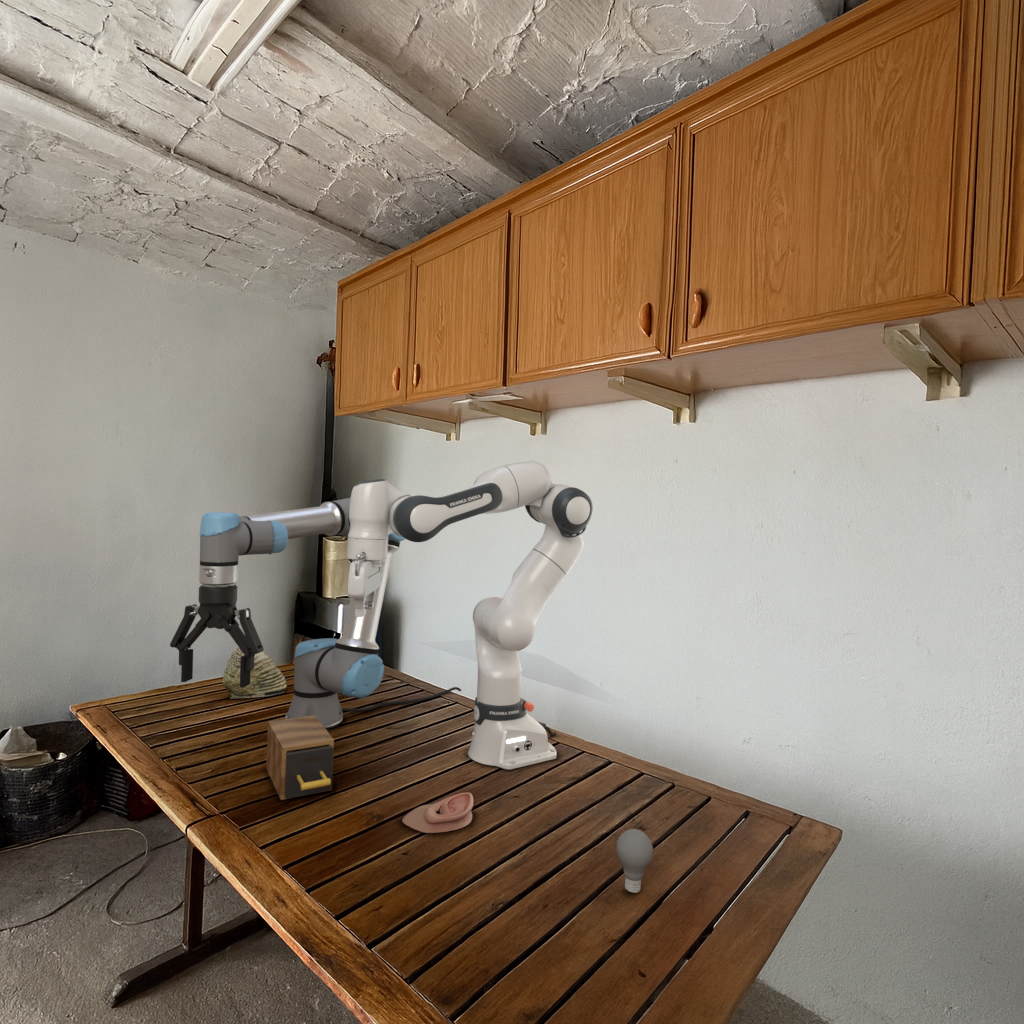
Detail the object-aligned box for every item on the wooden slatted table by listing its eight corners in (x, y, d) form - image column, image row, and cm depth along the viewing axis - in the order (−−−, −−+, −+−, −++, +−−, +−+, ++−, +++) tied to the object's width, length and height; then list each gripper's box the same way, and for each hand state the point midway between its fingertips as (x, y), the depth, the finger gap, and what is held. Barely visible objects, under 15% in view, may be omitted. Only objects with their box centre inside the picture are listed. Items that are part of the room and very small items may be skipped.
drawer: (339, 801, 130) (340, 757, 130) (291, 811, 125) (293, 765, 125) (313, 762, 148) (315, 723, 148) (271, 769, 144) (273, 729, 143)
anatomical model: (396, 808, 122) (417, 782, 133) (395, 828, 122) (416, 801, 133) (463, 818, 119) (478, 791, 130) (462, 839, 119) (477, 810, 131)
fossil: (218, 695, 195) (220, 647, 195) (278, 685, 208) (279, 640, 207) (228, 703, 189) (230, 653, 188) (289, 692, 201) (290, 645, 201)
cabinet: (332, 790, 137) (334, 739, 137) (280, 800, 132) (282, 747, 131) (313, 760, 151) (315, 715, 151) (266, 768, 146) (268, 721, 146)
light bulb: (610, 879, 108) (613, 822, 108) (644, 879, 109) (647, 822, 109) (619, 902, 102) (622, 840, 102) (655, 901, 103) (658, 840, 103)
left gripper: (153, 583, 134) (150, 683, 134) (263, 590, 130) (260, 693, 130) (177, 578, 141) (174, 673, 141) (281, 585, 137) (278, 682, 138)
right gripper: (372, 555, 131) (368, 622, 132) (389, 548, 152) (386, 605, 152) (341, 554, 131) (338, 620, 131) (362, 547, 152) (360, 604, 152)
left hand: (215, 683), depth 136 cm, fingers open, 13 cm apart
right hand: (364, 612), depth 142 cm, fingers open, 8 cm apart
